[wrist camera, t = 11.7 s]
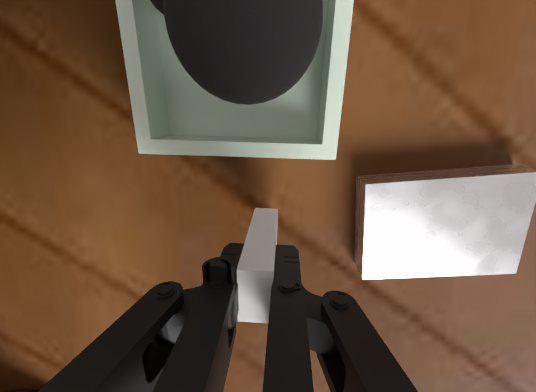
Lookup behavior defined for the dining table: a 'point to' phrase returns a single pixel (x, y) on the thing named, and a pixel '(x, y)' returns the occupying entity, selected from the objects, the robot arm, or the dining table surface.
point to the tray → (226, 113)
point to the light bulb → (244, 44)
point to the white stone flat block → (443, 221)
